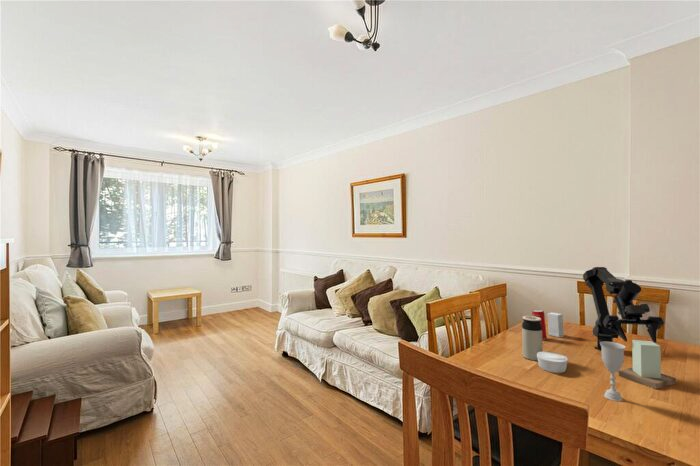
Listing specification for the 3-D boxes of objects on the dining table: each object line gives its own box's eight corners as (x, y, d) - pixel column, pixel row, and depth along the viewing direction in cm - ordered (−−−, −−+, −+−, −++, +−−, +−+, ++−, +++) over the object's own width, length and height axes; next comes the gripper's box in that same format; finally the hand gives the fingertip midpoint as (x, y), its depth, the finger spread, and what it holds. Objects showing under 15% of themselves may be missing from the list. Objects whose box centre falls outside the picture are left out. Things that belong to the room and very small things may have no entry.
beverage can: (548, 340, 173) (547, 311, 173) (534, 340, 174) (534, 311, 174) (544, 337, 178) (543, 309, 178) (531, 336, 180) (530, 308, 180)
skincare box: (564, 336, 179) (563, 314, 179) (558, 337, 177) (558, 315, 177) (552, 333, 184) (552, 311, 184) (547, 334, 182) (547, 312, 182)
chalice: (595, 392, 117) (594, 341, 117) (613, 391, 117) (612, 340, 117) (613, 403, 110) (612, 349, 110) (632, 402, 110) (631, 348, 110)
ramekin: (557, 376, 130) (557, 363, 130) (530, 366, 140) (530, 354, 140) (574, 370, 136) (573, 358, 136) (547, 361, 145) (547, 349, 145)
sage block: (632, 370, 130) (632, 339, 130) (651, 371, 128) (650, 340, 128) (641, 376, 124) (640, 344, 124) (660, 378, 123) (660, 346, 123)
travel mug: (523, 359, 148) (522, 319, 148) (521, 353, 155) (521, 315, 155) (544, 361, 145) (543, 320, 145) (541, 355, 152) (540, 316, 152)
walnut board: (638, 370, 134) (638, 366, 134) (675, 383, 123) (675, 378, 123) (618, 375, 130) (618, 370, 130) (656, 389, 119) (655, 383, 119)
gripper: (604, 295, 137) (618, 330, 127) (660, 296, 131) (679, 333, 121) (597, 310, 145) (610, 344, 134) (650, 311, 139) (667, 346, 128)
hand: (640, 341), depth 129 cm, fingers open, 9 cm apart
